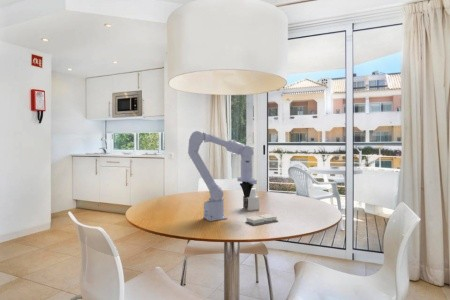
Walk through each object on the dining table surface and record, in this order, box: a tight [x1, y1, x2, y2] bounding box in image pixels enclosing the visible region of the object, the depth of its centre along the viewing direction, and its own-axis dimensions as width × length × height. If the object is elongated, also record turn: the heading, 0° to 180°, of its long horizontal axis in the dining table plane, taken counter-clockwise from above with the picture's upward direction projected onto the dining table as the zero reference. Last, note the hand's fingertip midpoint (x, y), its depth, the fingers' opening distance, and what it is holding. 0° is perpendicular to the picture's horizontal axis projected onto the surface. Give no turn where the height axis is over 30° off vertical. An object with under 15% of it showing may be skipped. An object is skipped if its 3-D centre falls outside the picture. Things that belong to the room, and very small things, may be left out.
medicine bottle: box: [242, 186, 261, 212], centre depth 160 cm, size 7×7×12 cm
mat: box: [245, 219, 279, 227], centre depth 132 cm, size 14×6×1 cm, turn 119°
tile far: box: [258, 213, 278, 222], centre depth 135 cm, size 6×2×6 cm
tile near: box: [245, 215, 265, 224], centre depth 132 cm, size 6×2×6 cm
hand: (246, 197), depth 142 cm, fingers closed
